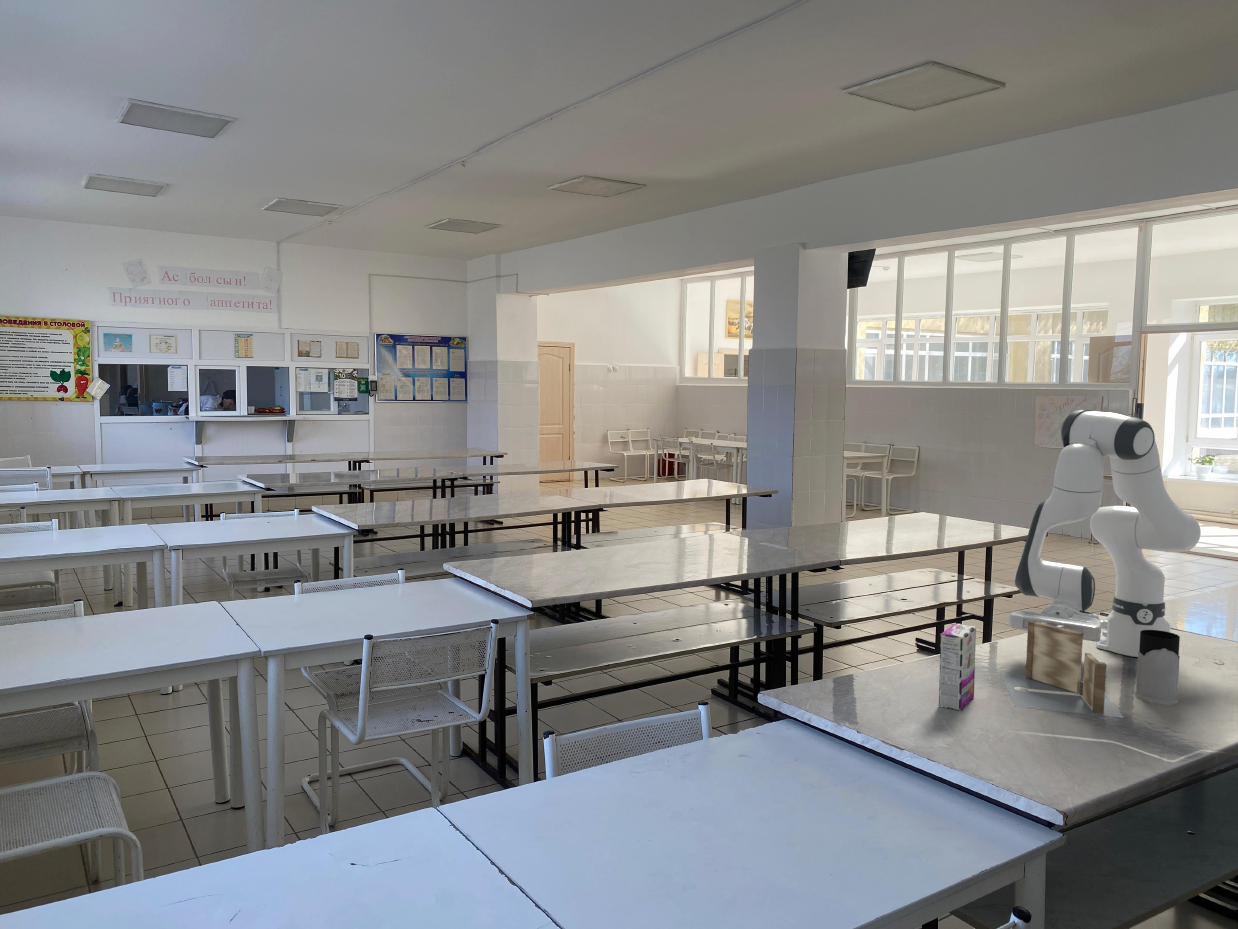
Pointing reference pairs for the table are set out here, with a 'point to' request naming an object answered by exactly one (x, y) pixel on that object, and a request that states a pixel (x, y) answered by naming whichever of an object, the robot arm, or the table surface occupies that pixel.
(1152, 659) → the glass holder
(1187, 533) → the robot arm
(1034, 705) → the card
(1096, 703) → the bar
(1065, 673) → the brown wooden panel
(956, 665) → the candy bar box
